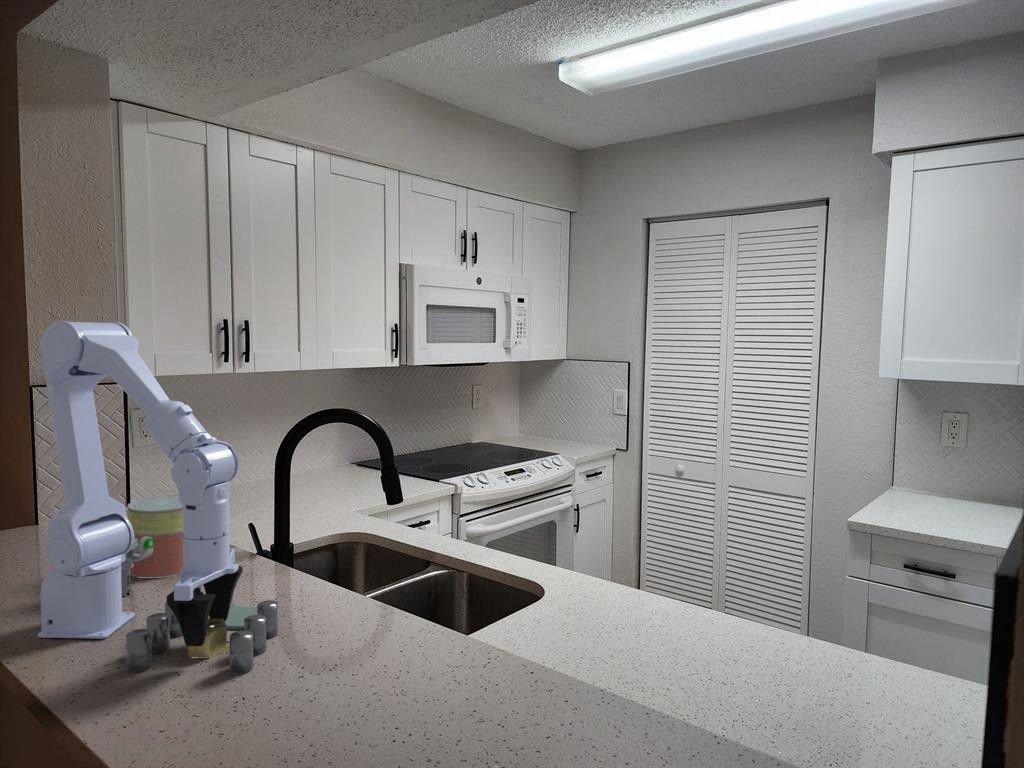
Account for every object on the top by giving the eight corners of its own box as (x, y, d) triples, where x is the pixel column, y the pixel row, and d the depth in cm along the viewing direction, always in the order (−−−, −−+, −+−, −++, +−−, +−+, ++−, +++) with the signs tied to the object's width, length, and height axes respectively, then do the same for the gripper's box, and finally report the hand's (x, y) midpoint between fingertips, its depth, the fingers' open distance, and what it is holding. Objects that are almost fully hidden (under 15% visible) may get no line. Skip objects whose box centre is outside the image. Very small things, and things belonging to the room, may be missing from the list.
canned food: (210, 565, 125) (210, 501, 124) (150, 583, 115) (149, 514, 114) (175, 553, 131) (174, 492, 130) (115, 569, 121) (114, 503, 120)
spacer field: (122, 672, 85) (121, 638, 85) (170, 628, 98) (170, 598, 98) (248, 674, 86) (248, 640, 86) (280, 630, 99) (280, 600, 98)
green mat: (194, 628, 98) (194, 625, 98) (214, 609, 105) (214, 606, 105) (257, 629, 99) (257, 626, 99) (272, 610, 106) (272, 607, 106)
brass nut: (179, 658, 90) (179, 632, 89) (194, 642, 94) (194, 618, 94) (219, 659, 90) (219, 633, 90) (233, 643, 94) (233, 618, 94)
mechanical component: (145, 601, 107) (144, 540, 107) (90, 595, 109) (89, 534, 109) (158, 594, 110) (158, 534, 110) (104, 588, 112) (103, 529, 112)
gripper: (214, 551, 84) (215, 657, 85) (255, 519, 98) (256, 610, 99) (156, 550, 84) (158, 657, 84) (206, 518, 98) (207, 610, 99)
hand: (207, 632), depth 92 cm, fingers open, 7 cm apart
